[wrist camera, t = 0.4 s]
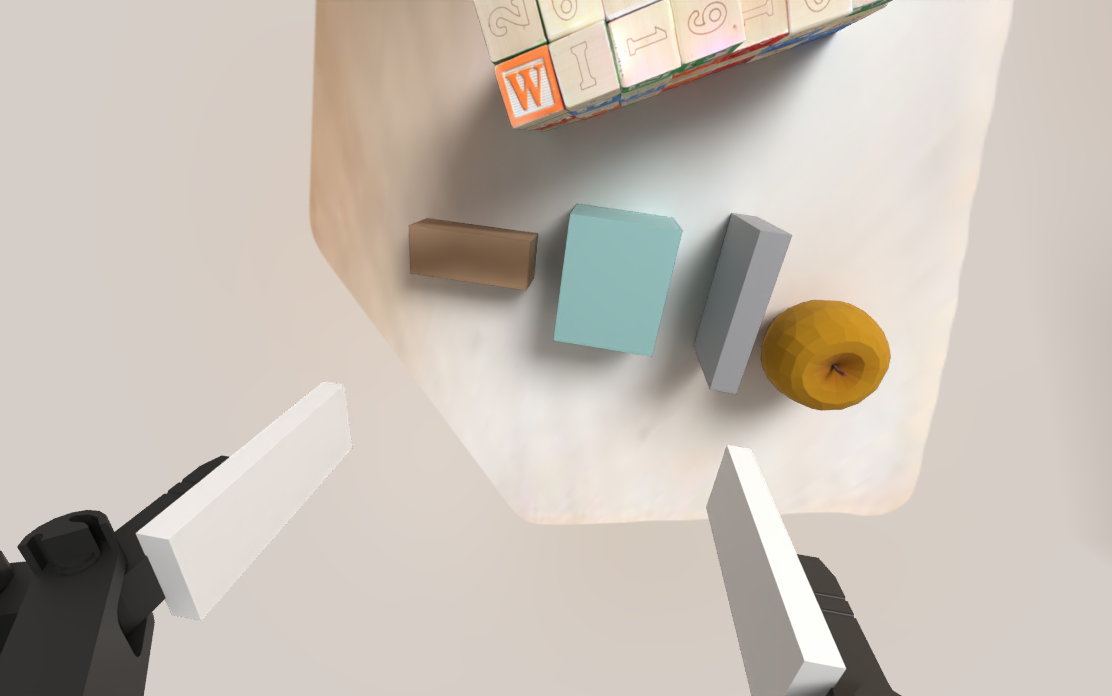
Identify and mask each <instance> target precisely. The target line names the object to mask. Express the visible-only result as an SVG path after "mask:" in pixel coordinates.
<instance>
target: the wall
mask: <svg viewBox="0 0 1112 696" xmlns="http://www.w3.org/2000/svg"><path fill="white" fill-rule="evenodd" d="M791 237H792V235H791V234H789V233H787V232H785V231H783V230H781V229H779V228H778V227H776V226H774V225H772V224H770V223H768V222H766V221H764V220H762V219H760V218H758V217H755V216H748V215H741V214H734V213H732V214H731V217H730V221H729V224H728V228H727V231H726V235H725V238H724V242H723V245H722V249H721V252H720V256H719V259H718V263H717V266H716V270H715V273H714V277H713V280H712V284H711V287H710V291H709V294H708V297H707V301H706V304H705V308H704V311H703V315H702V318H701V322H700V325H699V329H698V332H697V336H696V339H695V343H694V349H695V351H696V354H697V357H698V359H699V362H700V365H701V367H702V370H703V373H704V375H705V378H706V381H707V383H708V386H709V389H710V390H716V391H721V392H727V393H733V394H736V393H737V391H738V388H739V385H740V382H741V379H742V376H743V374H744V371H745V368H746V365H747V362H748V359H749V357H750V354H751V351H752V348H753V345H754V342H755V340H756V337H757V334H758V331H759V328H760V325H761V323H762V320H763V317H764V314H765V311H766V308H767V306H768V303H769V300H770V297H771V294H772V291H773V288H774V286H775V283H776V280H777V277H778V274H779V271H780V269H781V266H782V263H783V260H784V257H785V254H786V252H787V249H788V246H789V243H790V240H791Z"/></svg>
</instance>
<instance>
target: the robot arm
mask: <svg viewBox="0 0 1112 696" xmlns="http://www.w3.org/2000/svg"><path fill="white" fill-rule="evenodd" d="M351 449H352V441H351V433H350V426H349V418H348V410H347V403H346V395H345V387H344V385H343V384H337V383H330V382H322V383H321V384H320V385H318V386H317V387H316V388H315V389H313V390H312V391H311V392H310V393H308V394H307V395H306V396H305V397H304V398H302V399H301V400H300V401H299V402H297V403H296V404H295V405H294V406H292V407H291V408H290V409H289V410H287V411H286V412H285V413H284V414H282V415H281V416H280V417H279V418H278V419H276V420H275V421H274V422H273V423H271V424H270V425H269V426H268V427H266V428H265V429H264V430H263V431H261V432H260V433H259V434H258V435H256V436H255V437H254V438H253V439H252V440H250V441H249V442H248V443H247V444H245V445H244V446H243V447H242V448H240V449H239V450H238V451H237V452H235V453H234V454H233V455H232V456H231V457H227V456H220V457H218V458H216V459H214V460H212V461H209V462H207V463H205V464H203V465H201V466H199V467H198V468H197V469H196V470H194V471H193V472H192V473H190V474H189V475H188V476H187V477H185V478H184V479H183V480H182V482H181V483H178V484H176V485H175V486H174V487H172V488H171V489H170V490H169V491H168V493H167V494H163V495H162V496H161V497H159V498H158V499H157V500H156V501H154V502H153V503H152V504H150V505H149V506H148V507H146V508H145V509H144V510H142V511H141V512H140V513H139V514H137V515H136V516H135V517H133V518H132V519H131V520H130V521H128V522H127V523H126V524H124V525H123V526H122V527H120V528H119V529H118V530H117V531H115V532H114V531H113V528H112V526H111V524H110V522H109V520H108V518H107V516H106V515H105V514H103V513H102V512H100V511H92V510H85V511H79V512H73V513H70V514H66V515H64V516H61V517H58V518H55V519H53V520H51V521H49V522H47V523H45V524H43V525H41V526H39V527H38V528H36V529H35V530H34V531H32V532H31V533H30V534H28V535H27V536H25V538H24V539H23V540H22V541H21V543H20V544H19V545H18V549H19V550H20V552H21V554H22V555H23V557H24V559H25V560H26V562H16V563H9V562H8V561H7V559H6V557H5V556H4V554H3V553H2V551H0V696H144V690H145V682H146V676H147V670H148V662H149V656H150V649H151V643H152V636H153V630H154V623H155V622H154V616H153V613H152V611H153V610H154V609H155V608H156V607H157V606H158V605H159V604H160V603H161V602H162V601H163V600H164V599H165V601H166V603H167V605H168V607H169V610H170V612H171V614H172V615H175V616H180V617H184V618H190V619H194V620H199V621H202V620H203V618H204V617H205V616H206V615H207V614H208V613H209V611H210V610H211V609H212V608H213V607H214V606H215V605H216V603H217V602H218V601H219V600H220V599H221V598H222V597H223V596H224V594H225V593H226V592H227V591H228V590H229V589H230V588H231V586H232V585H233V584H234V583H235V582H236V581H237V580H238V578H239V577H240V576H241V575H242V574H243V573H244V571H245V570H246V569H247V568H248V567H249V566H250V565H251V563H252V562H253V561H254V560H255V559H256V558H257V557H258V555H259V554H260V553H261V552H262V551H263V550H264V548H265V547H266V546H267V545H268V544H269V543H270V542H271V540H272V539H273V538H274V537H275V536H276V535H277V534H278V533H279V531H280V530H281V529H282V528H283V527H284V526H285V524H286V523H287V522H288V521H289V520H290V519H291V518H292V516H293V515H294V514H295V513H296V512H297V511H298V510H299V508H300V507H301V506H302V505H303V504H304V503H305V502H306V500H307V499H308V498H309V497H310V496H311V495H312V494H313V492H314V491H315V490H316V489H317V488H318V487H319V486H320V484H321V483H322V482H323V481H324V480H325V479H326V477H327V476H328V475H329V474H330V473H331V472H332V471H333V469H334V468H335V467H336V466H337V465H338V464H339V463H340V461H341V460H342V459H343V458H344V457H345V456H346V454H347V453H348V452H349V451H350V450H351ZM706 509H707V513H708V517H709V521H710V524H711V529H712V534H713V537H714V542H715V546H716V550H717V554H718V558H719V563H720V566H721V571H722V575H723V579H724V583H725V588H726V592H727V596H728V600H729V604H730V608H731V613H732V617H733V621H734V625H735V629H736V633H737V638H738V642H739V646H740V650H741V654H742V658H743V662H744V667H745V671H746V675H747V679H748V683H749V687H750V692H751V696H901V695H899V694H898V693H896V692H894V691H893V690H892V688H891V687H890V685H889V683H888V682H887V680H886V678H885V676H884V674H883V672H882V670H881V668H880V666H879V664H878V662H877V660H876V658H875V656H874V654H873V652H872V650H871V648H870V646H869V644H868V642H867V640H866V638H865V636H864V634H863V632H862V630H861V628H860V626H859V624H858V622H857V620H856V618H854V614H853V612H852V610H851V608H850V606H849V604H848V602H847V601H845V596H844V594H843V592H842V590H841V588H840V586H839V584H838V582H837V579H836V578H835V576H834V575H833V574H832V573H831V572H830V570H828V568H827V567H826V566H825V565H824V564H823V563H822V562H821V561H820V560H819V558H816V557H810V556H804V555H799V554H796V552H795V550H794V547H793V545H792V543H791V540H790V538H789V535H788V533H787V531H786V529H785V526H784V524H783V522H782V520H781V517H780V515H779V512H778V510H777V508H776V505H775V503H774V501H773V498H772V496H771V494H770V492H769V489H768V487H767V485H766V482H765V480H764V478H763V475H762V473H761V471H760V468H759V466H758V464H757V461H756V459H755V457H754V455H753V452H752V450H751V449H749V448H743V447H737V446H730V445H727V447H726V450H725V453H724V456H723V459H722V462H721V465H720V468H719V471H718V474H717V477H716V480H715V483H714V486H713V489H712V492H711V495H710V498H709V501H708V504H707V507H706Z"/></svg>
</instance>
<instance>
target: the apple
mask: <svg viewBox="0 0 1112 696" xmlns="http://www.w3.org/2000/svg"><path fill="white" fill-rule="evenodd" d="M890 357H891V355H890V349H889V344H888V341H887V339H886V337H885V334H884V332H883V331H882V329H881V328H880V327H879V325H878V324H877V323H876V322H875V321H874V320H873V319H872V318H871V317H870V316H869V315H868V314H867V313H866V312H864V311H863V310H861V309H859V308H857V307H855V306H853V305H852V304H849V303H845V302H841V301H825V300H811V301H807V302H803V303H800V304H798V305H795V306H793V307H791V308H788V309H787V310H786V311H784V312H783V313H781V314H780V315H779V316H777V317H776V318H775V319H774V321H773V322H772V324H771V325H770V327H769V328H768V331H767V333H766V335H765V337H764V340H763V343H762V349H761V362H762V366H763V369H764V371H765V373H766V375H767V378H768V379H769V380H770V381H771V382H772V384H773V385H774V386H775V387H776V388H777V390H779V391H780V392H782V393H783V394H784V395H786V396H787V397H789V398H790V399H792V400H794V401H796V402H798V403H800V404H802V405H805V406H807V407H810V408H812V409H817V410H842V409H845V408H847V407H850V406H853V405H855V404H858V403H860V402H861V401H862V400H864V399H865V398H866V397H867V396H869V395H870V394H871V393H873V392H874V391H875V390H876V389H877V388H878V386H879V384H880V383H881V381H882V379H883V377H884V375H885V374H886V372H887V370H888V368H889V363H890Z"/></svg>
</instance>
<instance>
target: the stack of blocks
mask: <svg viewBox="0 0 1112 696" xmlns="http://www.w3.org/2000/svg"><path fill="white" fill-rule="evenodd" d="M890 1H892V0H473V2H474V5H475V8H476V12H477V15H478V18H479V22H480V25H481V28H482V32H483V35H484V39H485V42H486V46H487V49H488V53H489V56H490V59H491V62H492V63H494V64H495V66H494V70H495V75H496V78H497V81H498V85H499V88H500V91H501V95H502V98H503V101H504V104H505V108H506V111H507V114H508V117H509V120H510V123H511V126H512V128H514V129H524V130H525V129H526V130H536V129H537V130H540V131H548V130H551V129H554V128H557V127H559V126H562V125H565V124H569V123H572V122H575V121H577V120H584V119H587V118H590V117H593V116H596V115H599V114H602V113H605V112H608V111H611V110H614V109H617V108H619V107H622V106H626V105H629V104H632V103H635V102H638V101H641V100H644V99H647V98H650V97H653V96H656V95H658V94H660V92H661V91H664V90H668V89H671V88H674V87H676V86H679V85H682V84H685V83H688V82H691V81H694V80H697V79H700V78H701V77H703V76H705V75H709V74H712V73H715V72H718V71H720V70H723V69H726V68H729V67H732V66H734V65H738V64H741V63H743V62H745V63H750V62H753V61H756V60H759V59H762V58H765V57H768V56H771V55H774V54H776V53H779V52H782V51H785V50H788V49H791V48H792V47H794V46H797V45H800V44H803V43H806V42H809V41H812V40H815V39H818V38H821V37H823V36H826V35H829V34H832V33H835V32H837V31H839V30H841V29H843V28H845V27H846V26H849V25H851V24H852V23H855V22H857V21H858V20H861V19H863V18H865V17H867V16H869V15H871V14H872V13H874V12H876V11H878V10H880V9H882V8H884V7H885V6H887V4H888V2H890Z"/></svg>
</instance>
